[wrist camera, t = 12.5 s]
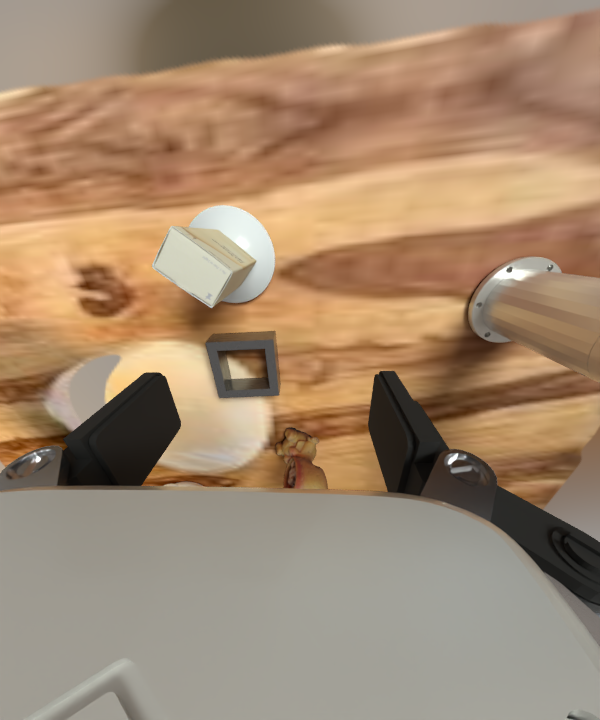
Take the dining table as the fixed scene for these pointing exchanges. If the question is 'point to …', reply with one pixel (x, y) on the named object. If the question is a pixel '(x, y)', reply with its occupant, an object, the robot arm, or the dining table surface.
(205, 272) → the skincare box
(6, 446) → the dining table surface
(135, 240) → the dining table surface
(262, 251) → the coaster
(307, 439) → the figurine
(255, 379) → the socket block
